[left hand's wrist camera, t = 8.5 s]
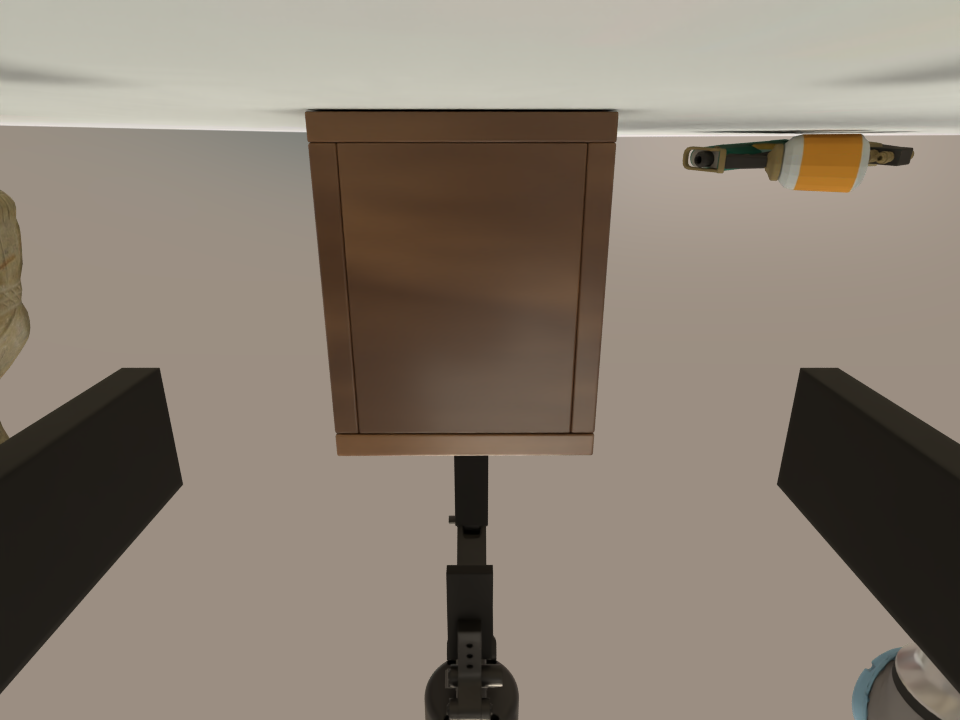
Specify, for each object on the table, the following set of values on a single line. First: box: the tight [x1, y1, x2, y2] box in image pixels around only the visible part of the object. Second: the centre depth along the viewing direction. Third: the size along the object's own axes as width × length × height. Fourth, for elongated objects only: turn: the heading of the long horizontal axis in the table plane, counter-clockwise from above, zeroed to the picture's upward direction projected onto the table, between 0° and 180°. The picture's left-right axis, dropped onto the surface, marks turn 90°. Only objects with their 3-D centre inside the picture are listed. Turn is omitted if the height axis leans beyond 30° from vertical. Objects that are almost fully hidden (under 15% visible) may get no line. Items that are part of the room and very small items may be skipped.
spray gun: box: [683, 134, 914, 192], centre depth 51 cm, size 4×17×15 cm
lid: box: [336, 431, 594, 456], centre depth 31 cm, size 18×9×8 cm, turn 0°
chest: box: [305, 111, 618, 433], centre depth 28 cm, size 18×9×11 cm, turn 0°
